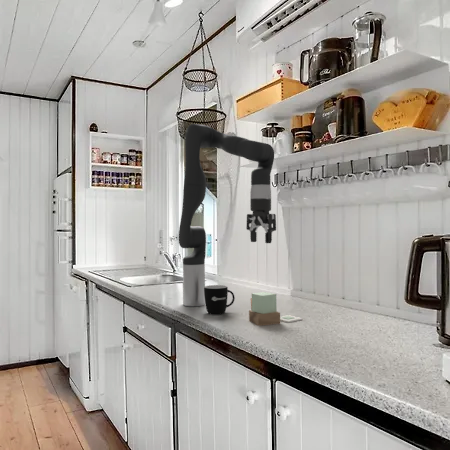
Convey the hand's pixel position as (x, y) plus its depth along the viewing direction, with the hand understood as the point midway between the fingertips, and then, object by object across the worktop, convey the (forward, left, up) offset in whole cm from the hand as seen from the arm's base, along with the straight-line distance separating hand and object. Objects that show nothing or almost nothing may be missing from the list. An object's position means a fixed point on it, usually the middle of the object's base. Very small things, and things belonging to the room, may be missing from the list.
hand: (260, 242), depth 156 cm
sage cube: (+7, -5, -23) cm, 25 cm away
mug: (-16, -8, -27) cm, 32 cm away
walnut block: (+7, -5, -27) cm, 29 cm away
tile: (+9, +4, -27) cm, 29 cm away
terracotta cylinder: (-4, +1, -27) cm, 27 cm away
